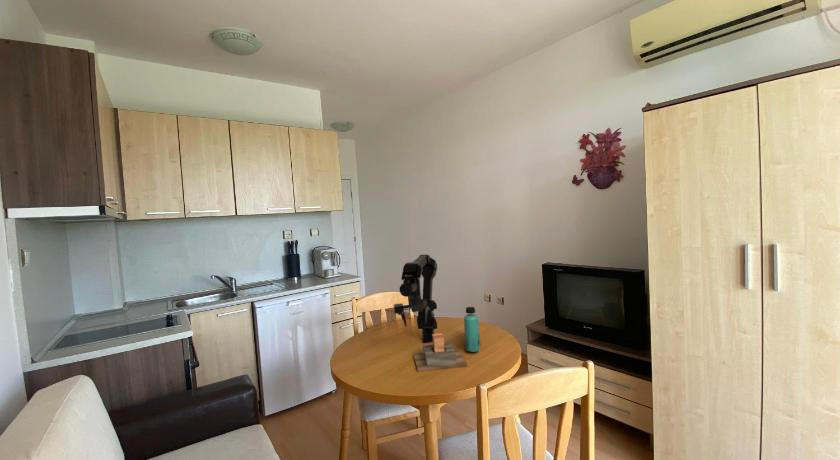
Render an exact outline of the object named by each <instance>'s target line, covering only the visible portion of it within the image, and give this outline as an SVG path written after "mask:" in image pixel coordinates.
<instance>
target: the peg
mask: <svg viewBox="0 0 840 460" xmlns="http://www.w3.org/2000/svg"><path fill="white" fill-rule="evenodd" d="M432 336H433V342H432V345H433V352H442V351H444V343H445V342H444V341H445V340H444V335H443V333H442V332H441V333H434V334H432Z"/></svg>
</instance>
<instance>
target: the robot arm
mask: <svg viewBox="0 0 840 460" xmlns="http://www.w3.org/2000/svg"><path fill="white" fill-rule="evenodd" d="M402 269H403V270H402V273H401V281H403V282H402V283H401V284H400V286H399V293H400V294H401V296H403V297H405V298H407V301H408V302H407V303H408V304H405V305H404V304H403V303H394V304H393V311H394V314H396V315H398V316H400V317H401V319H402V321H403V323H404V326H405V327H406V328H407V319H406V313H405V311H406V310H410V311H411V312H412V313H417V317H416V325H417V329H418V330H421V335H422V337H421V342H422V344H425V343H433V336H432V334H435V333H434V332H435V330H437V329H438V322H437V319H436V317H435V313H434V311H435V310H437V309H438V306H437V302H436V301H435V300H434V299H432V297H433V282H434V281H433V280H434V278H435V277H436V276H437V271H438V263H437V262H436V260H435V259H434V258H432V257H431V255H430V254H420V255H418V256H417V258H416V259H414V260H413V261H410V262H406V263H404V265H403V267H402ZM421 278H423V279H422V281H423V282H422V291H421V281H420V279H421ZM421 292H422V293H421Z"/></svg>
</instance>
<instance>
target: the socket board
mask: <svg viewBox="0 0 840 460" xmlns="http://www.w3.org/2000/svg"><path fill="white" fill-rule="evenodd" d="M413 357H414V361H415V365H416V369H417V372H418V373H419V372H420V373H421V372H429V371H438V370H445V369H447V370H448V369H455V368H464V367H468V363H467V360H465V357H464V356H463V355H462V352H461V351H460V350H459V348H453V346H452V344H451V343H450V342H444V351H442V352H433V344H424V345H422V352H417V353H413Z"/></svg>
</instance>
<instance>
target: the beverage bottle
mask: <svg viewBox="0 0 840 460" xmlns="http://www.w3.org/2000/svg"><path fill="white" fill-rule="evenodd" d="M465 313H466V315H465V316H464V317H463V323H464V325H465V330H464V345H465V349H466V351H468V352H473V353H474V352H479V351H481V340H480V324H479V317H478V315H476V307H474V306H468V307H465ZM464 325H463V326H464Z"/></svg>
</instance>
